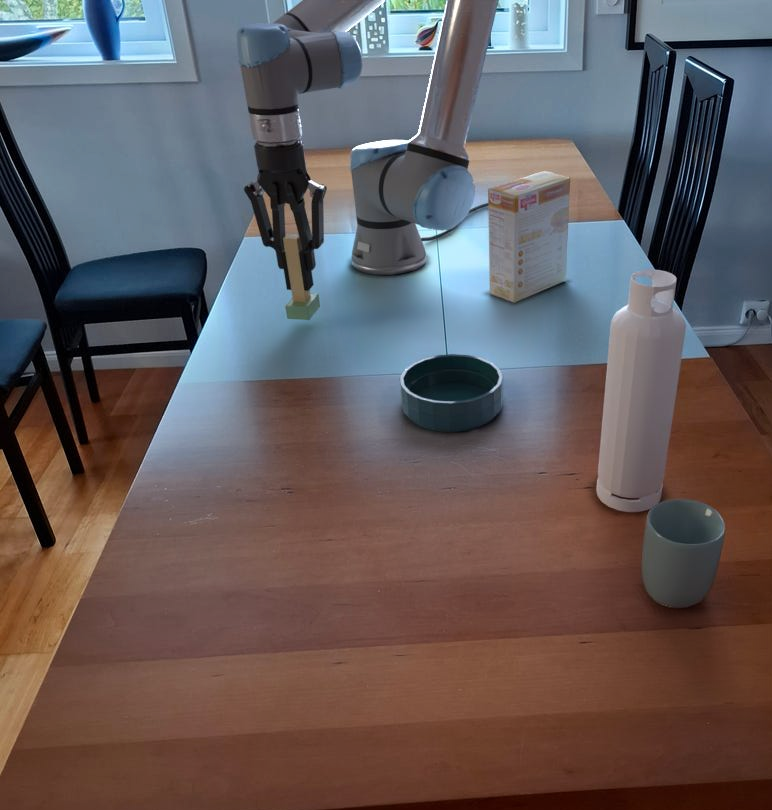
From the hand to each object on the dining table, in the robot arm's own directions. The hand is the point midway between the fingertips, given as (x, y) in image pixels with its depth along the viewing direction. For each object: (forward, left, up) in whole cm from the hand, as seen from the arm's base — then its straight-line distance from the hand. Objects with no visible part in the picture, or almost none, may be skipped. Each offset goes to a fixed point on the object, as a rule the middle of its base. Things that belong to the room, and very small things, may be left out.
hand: (300, 287), depth 139 cm
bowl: (+25, +31, -7) cm, 40 cm away
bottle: (+43, +57, -7) cm, 72 cm away
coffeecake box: (-22, +37, -7) cm, 44 cm away
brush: (0, 0, -5) cm, 5 cm away
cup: (+61, +62, -7) cm, 87 cm away
